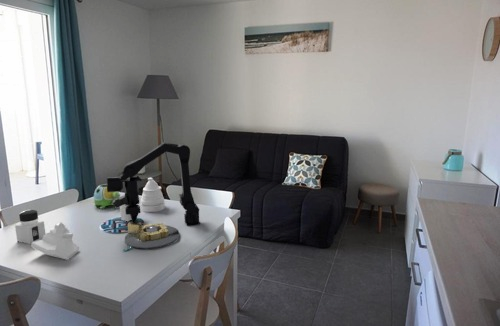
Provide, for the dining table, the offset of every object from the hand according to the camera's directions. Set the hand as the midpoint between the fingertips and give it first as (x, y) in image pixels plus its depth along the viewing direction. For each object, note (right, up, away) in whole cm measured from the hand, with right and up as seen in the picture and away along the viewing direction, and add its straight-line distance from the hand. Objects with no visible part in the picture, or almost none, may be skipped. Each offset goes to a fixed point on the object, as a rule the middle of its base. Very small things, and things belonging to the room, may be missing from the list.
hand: (133, 222), depth 154 cm
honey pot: (0, +2, +32) cm, 32 cm away
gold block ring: (+9, -4, -8) cm, 12 cm away
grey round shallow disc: (+11, -6, -8) cm, 15 cm away
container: (-41, -6, -10) cm, 43 cm away
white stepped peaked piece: (-21, -9, -24) cm, 33 cm away
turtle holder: (-27, +3, +36) cm, 45 cm away
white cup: (-8, -1, +15) cm, 17 cm away
